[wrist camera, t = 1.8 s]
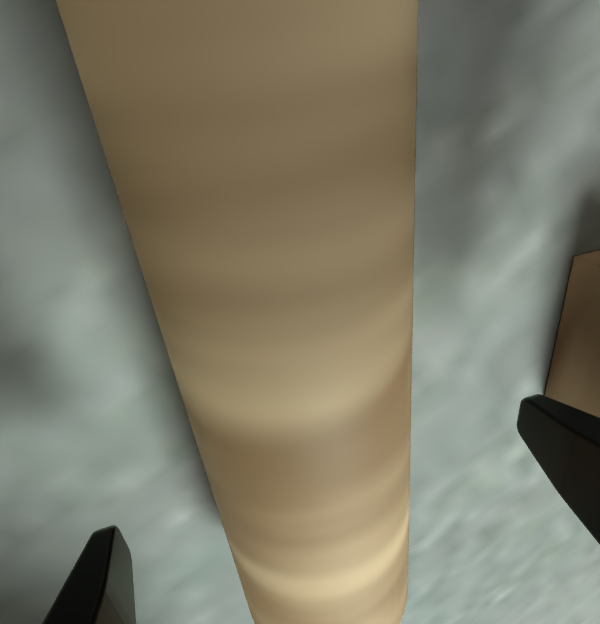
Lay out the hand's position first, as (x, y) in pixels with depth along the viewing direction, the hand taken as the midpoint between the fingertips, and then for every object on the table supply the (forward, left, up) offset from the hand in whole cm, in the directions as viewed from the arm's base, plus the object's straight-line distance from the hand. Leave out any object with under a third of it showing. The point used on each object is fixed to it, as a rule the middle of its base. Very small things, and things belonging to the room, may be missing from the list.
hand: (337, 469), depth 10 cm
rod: (+3, 0, -3) cm, 4 cm away
